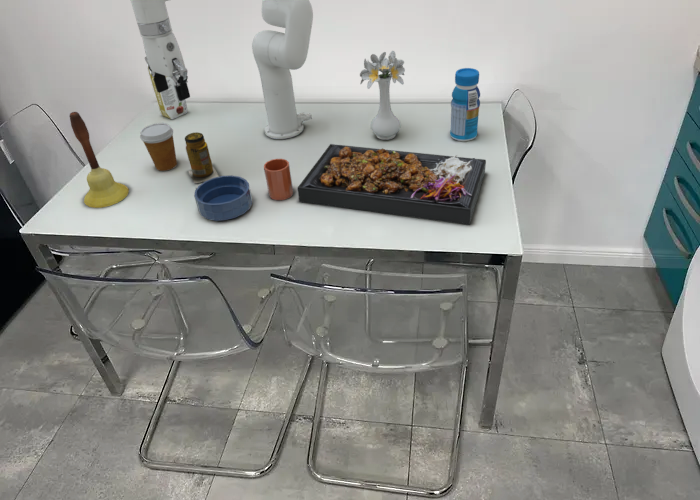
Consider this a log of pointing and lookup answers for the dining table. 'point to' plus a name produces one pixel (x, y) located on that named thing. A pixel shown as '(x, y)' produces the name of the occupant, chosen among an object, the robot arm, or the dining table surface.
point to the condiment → (199, 158)
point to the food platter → (395, 183)
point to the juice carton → (169, 99)
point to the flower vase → (384, 92)
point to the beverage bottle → (465, 105)
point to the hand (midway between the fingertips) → (173, 94)
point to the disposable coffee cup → (160, 145)
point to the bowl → (223, 197)
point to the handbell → (97, 172)
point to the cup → (278, 179)
